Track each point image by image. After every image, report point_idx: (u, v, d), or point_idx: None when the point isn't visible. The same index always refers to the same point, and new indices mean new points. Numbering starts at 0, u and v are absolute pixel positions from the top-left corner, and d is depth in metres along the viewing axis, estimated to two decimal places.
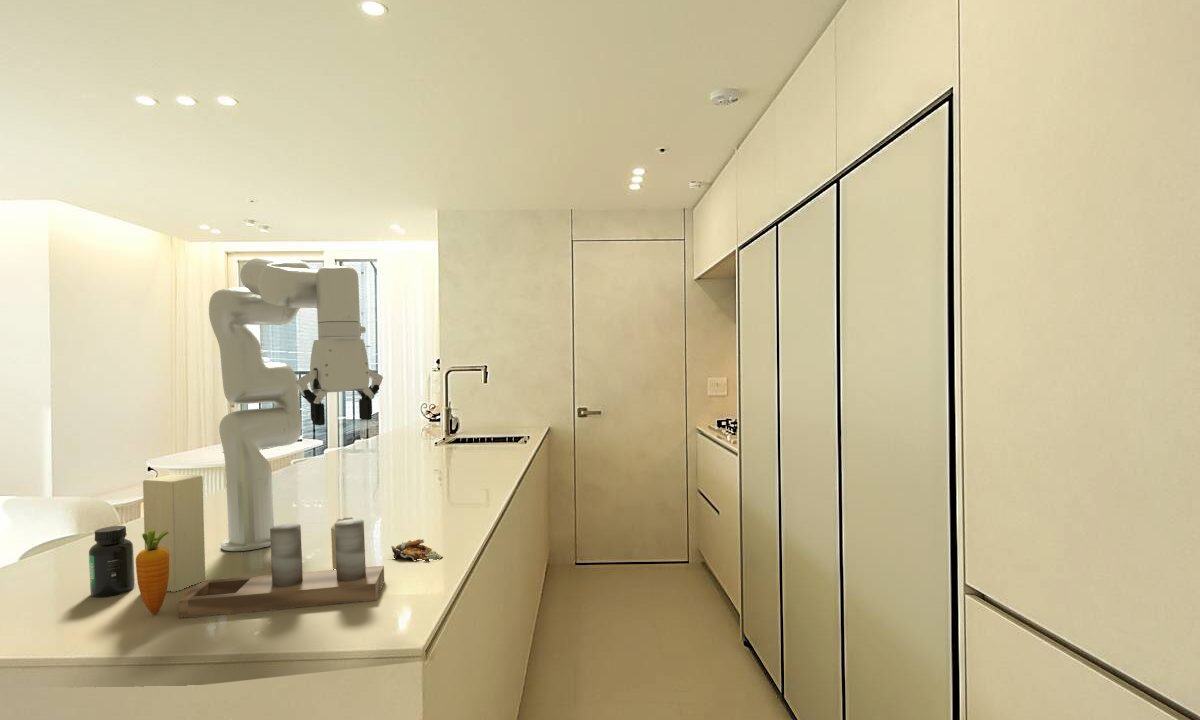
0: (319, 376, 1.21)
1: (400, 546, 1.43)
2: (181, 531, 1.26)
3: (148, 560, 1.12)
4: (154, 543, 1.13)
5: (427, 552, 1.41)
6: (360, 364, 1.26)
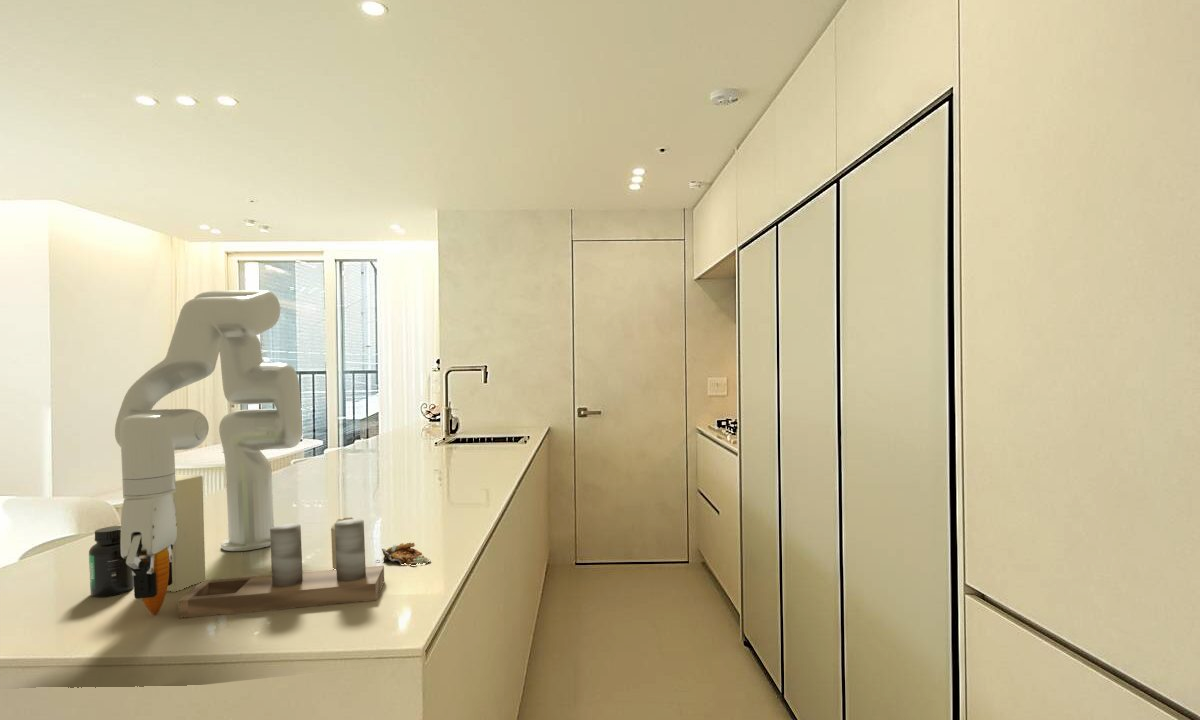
0: (144, 540, 1.09)
1: (391, 549, 1.41)
2: (181, 531, 1.26)
3: None
4: None
5: (415, 556, 1.38)
6: (173, 517, 1.17)
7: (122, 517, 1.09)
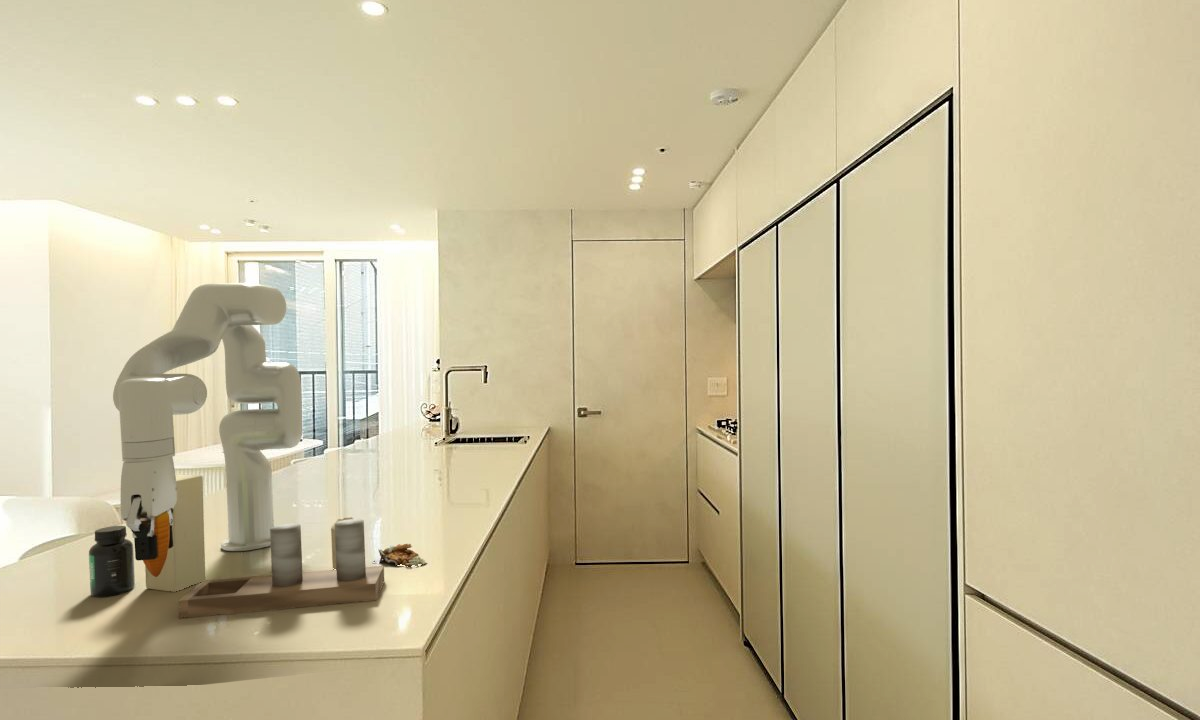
0: (144, 503, 1.09)
1: (387, 550, 1.41)
2: (181, 531, 1.26)
3: None
4: None
5: (411, 557, 1.37)
6: (173, 481, 1.17)
7: (122, 480, 1.09)
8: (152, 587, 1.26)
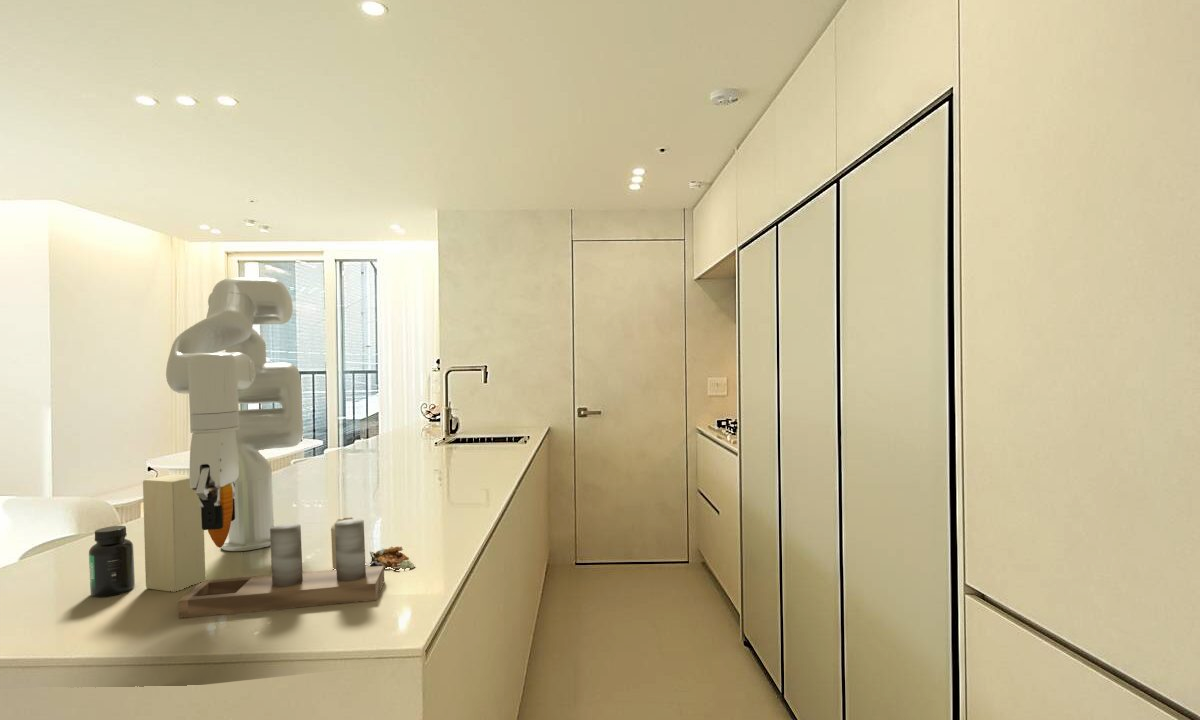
0: (212, 473, 1.13)
1: (379, 552, 1.39)
2: (181, 531, 1.26)
3: None
4: None
5: (400, 561, 1.35)
6: (236, 454, 1.20)
7: (191, 450, 1.12)
8: (152, 587, 1.26)
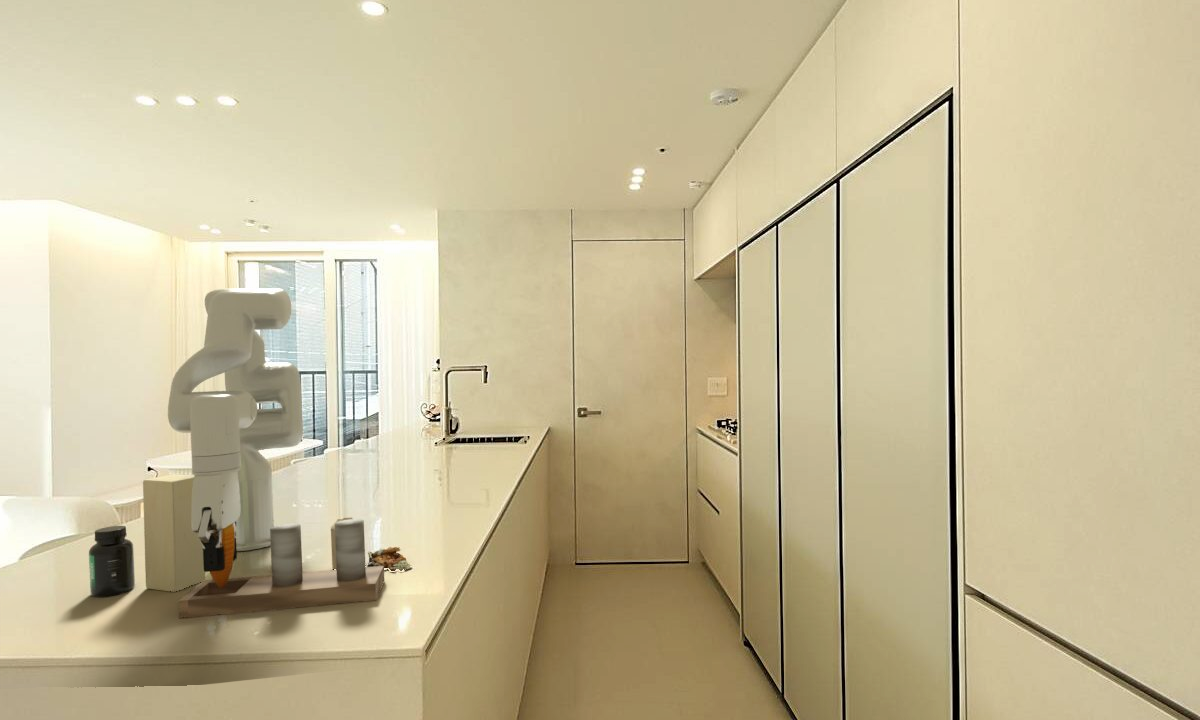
0: (214, 515, 1.13)
1: (377, 552, 1.39)
2: (181, 531, 1.26)
3: None
4: None
5: (397, 562, 1.35)
6: (237, 494, 1.20)
7: (193, 492, 1.12)
8: (152, 587, 1.26)
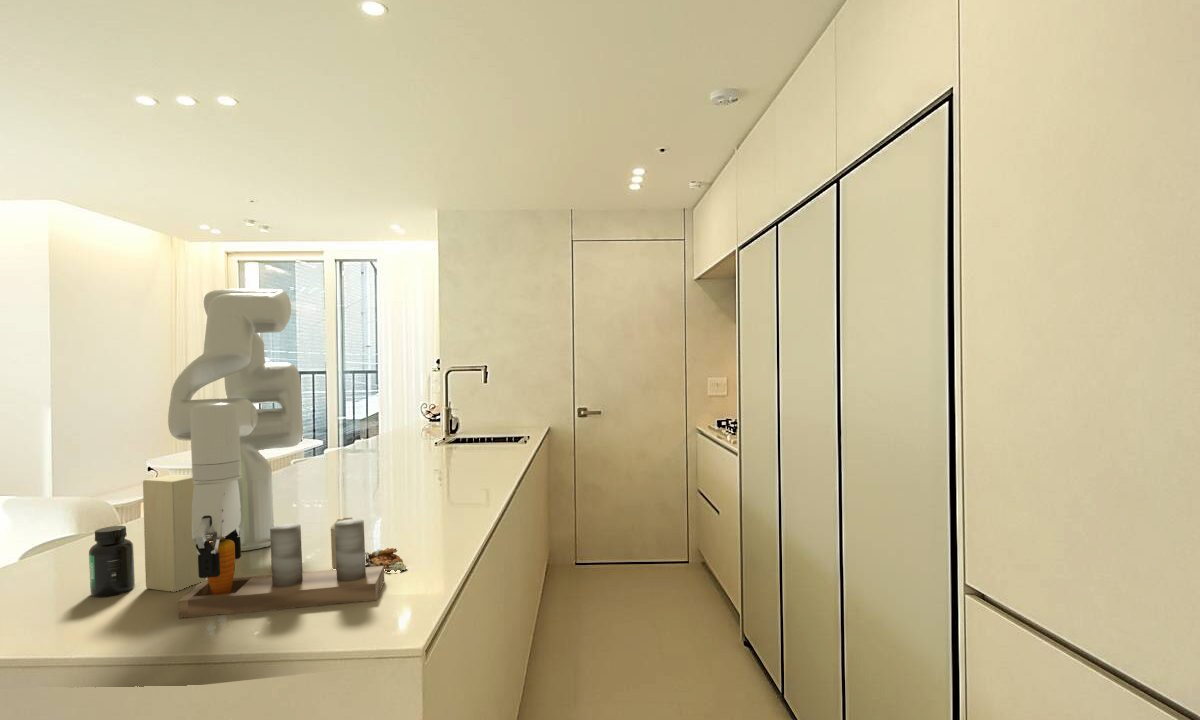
0: (215, 524, 1.13)
1: (374, 553, 1.39)
2: (181, 531, 1.26)
3: (217, 551, 1.15)
4: None
5: (393, 563, 1.34)
6: (238, 502, 1.20)
7: (193, 501, 1.12)
8: (152, 587, 1.26)
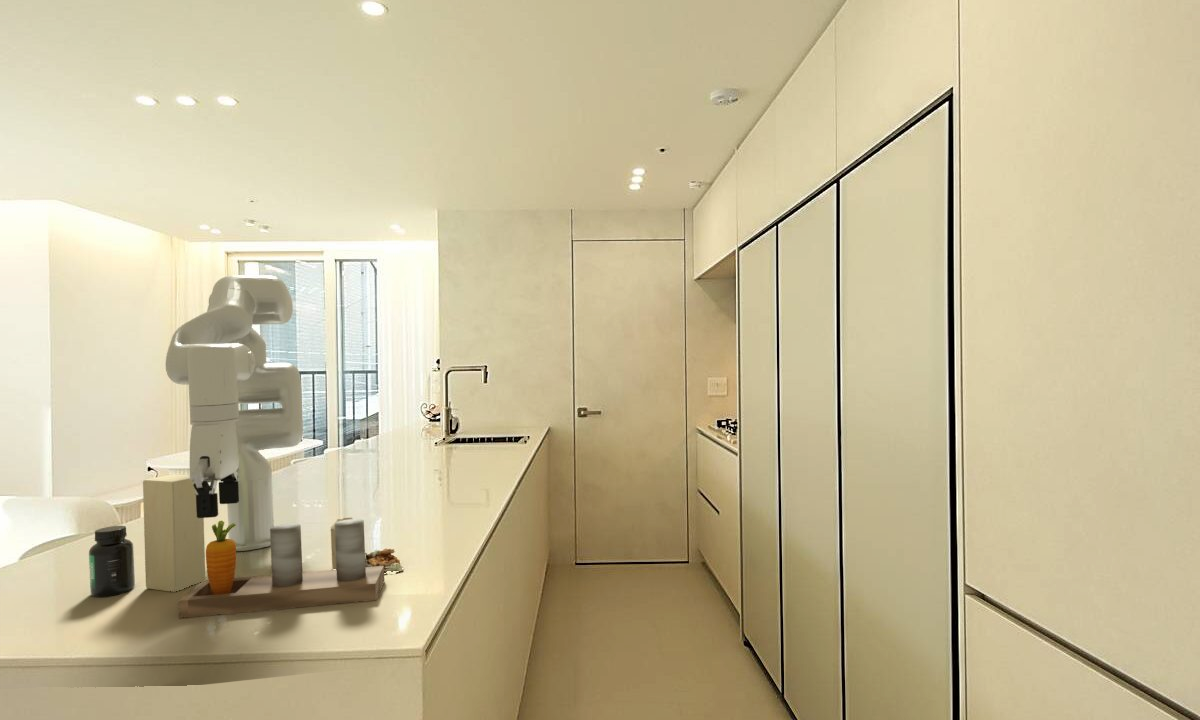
0: (212, 464, 1.13)
1: (372, 554, 1.38)
2: (181, 531, 1.26)
3: (218, 551, 1.16)
4: (223, 535, 1.17)
5: (389, 564, 1.34)
6: (236, 446, 1.20)
7: (191, 442, 1.12)
8: (152, 587, 1.26)
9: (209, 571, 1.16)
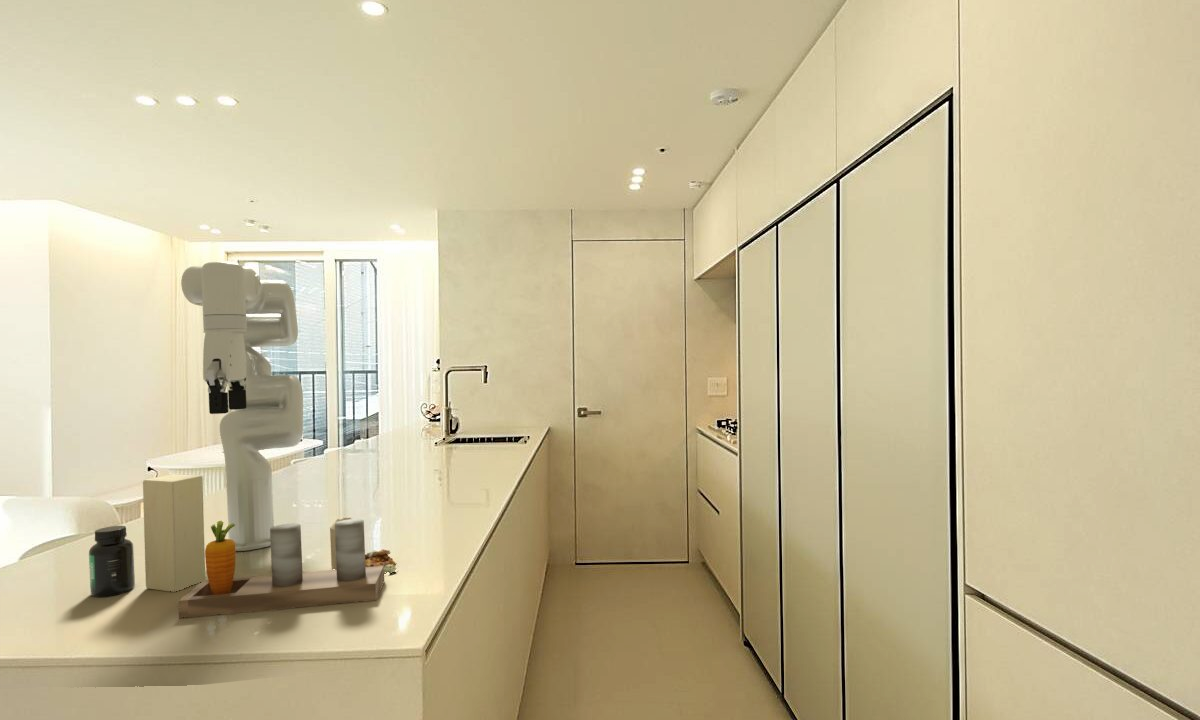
0: (223, 366, 1.26)
1: (368, 554, 1.38)
2: (181, 531, 1.26)
3: (217, 551, 1.16)
4: (222, 535, 1.17)
5: (383, 565, 1.33)
6: (244, 356, 1.34)
7: (204, 346, 1.26)
8: (152, 587, 1.26)
9: (209, 571, 1.16)
